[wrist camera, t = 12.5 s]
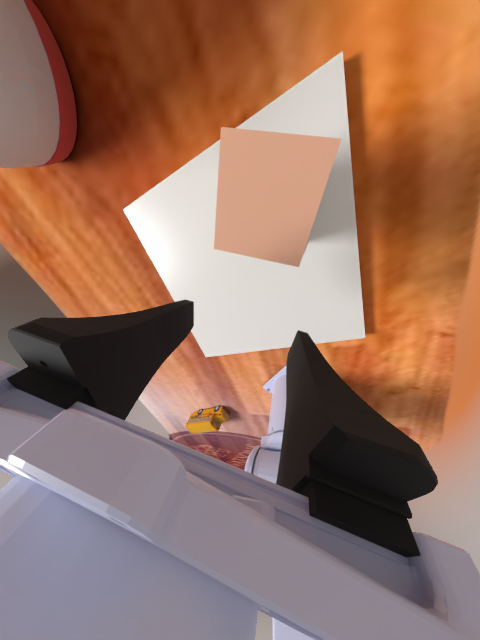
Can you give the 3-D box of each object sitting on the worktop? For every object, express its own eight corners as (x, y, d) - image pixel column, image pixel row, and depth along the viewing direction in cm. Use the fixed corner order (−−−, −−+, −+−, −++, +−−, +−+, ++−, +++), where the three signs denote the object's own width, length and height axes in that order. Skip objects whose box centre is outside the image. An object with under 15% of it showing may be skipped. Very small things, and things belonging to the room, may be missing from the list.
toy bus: (232, 413, 36) (226, 431, 33) (201, 418, 41) (193, 434, 38) (223, 403, 36) (216, 421, 32) (192, 409, 40) (184, 426, 37)
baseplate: (362, 332, 20) (365, 338, 19) (208, 353, 29) (205, 357, 28) (339, 63, 11) (343, 49, 10) (130, 209, 20) (122, 209, 19)
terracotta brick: (324, 168, 10) (341, 138, 6) (297, 253, 13) (298, 267, 9) (246, 158, 11) (220, 126, 7) (236, 240, 13) (213, 248, 10)
